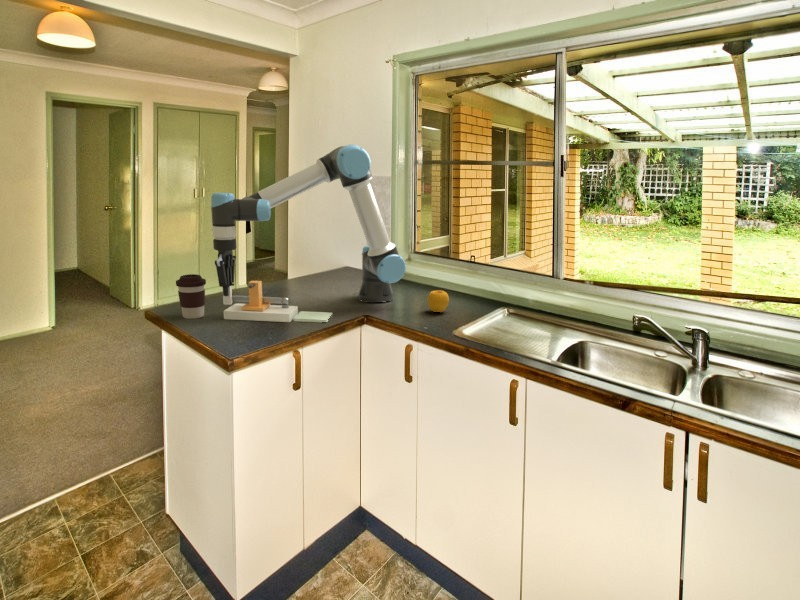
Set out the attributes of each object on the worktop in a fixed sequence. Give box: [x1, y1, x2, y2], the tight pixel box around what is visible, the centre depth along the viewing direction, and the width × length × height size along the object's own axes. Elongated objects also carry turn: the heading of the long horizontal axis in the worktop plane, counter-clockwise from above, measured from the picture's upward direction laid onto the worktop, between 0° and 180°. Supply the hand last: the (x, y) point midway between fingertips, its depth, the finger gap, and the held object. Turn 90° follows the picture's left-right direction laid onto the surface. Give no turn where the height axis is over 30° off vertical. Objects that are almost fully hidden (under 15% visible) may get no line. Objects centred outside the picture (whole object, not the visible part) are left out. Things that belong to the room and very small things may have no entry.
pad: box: [292, 310, 333, 323], centre depth 184 cm, size 12×10×1 cm
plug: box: [241, 280, 271, 311], centre depth 183 cm, size 8×9×13 cm
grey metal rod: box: [232, 295, 290, 305], centre depth 186 cm, size 21×3×2 cm, turn 86°
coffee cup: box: [175, 273, 207, 320], centre depth 181 cm, size 10×10×15 cm
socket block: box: [223, 302, 299, 323], centre depth 184 cm, size 24×11×4 cm, turn 86°
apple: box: [427, 289, 450, 313], centre depth 196 cm, size 8×8×9 cm
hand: (227, 304), depth 180 cm, fingers closed
